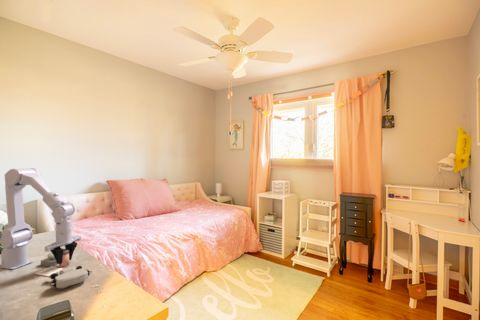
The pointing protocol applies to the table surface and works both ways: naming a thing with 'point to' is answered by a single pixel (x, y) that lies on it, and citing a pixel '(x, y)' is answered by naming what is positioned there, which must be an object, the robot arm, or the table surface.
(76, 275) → the robot toy
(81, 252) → the table surface
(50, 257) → the button
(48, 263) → the button housing
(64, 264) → the marker
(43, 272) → the cream rectangular plate
